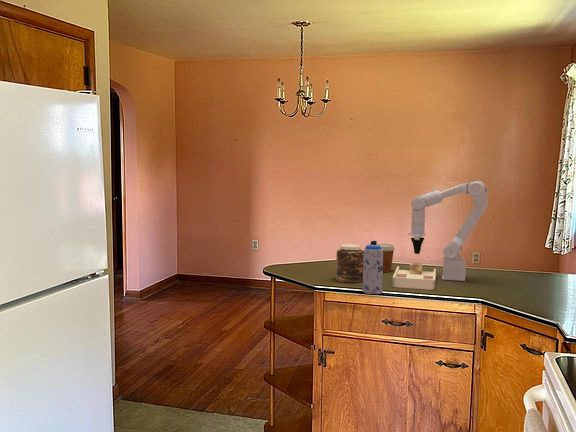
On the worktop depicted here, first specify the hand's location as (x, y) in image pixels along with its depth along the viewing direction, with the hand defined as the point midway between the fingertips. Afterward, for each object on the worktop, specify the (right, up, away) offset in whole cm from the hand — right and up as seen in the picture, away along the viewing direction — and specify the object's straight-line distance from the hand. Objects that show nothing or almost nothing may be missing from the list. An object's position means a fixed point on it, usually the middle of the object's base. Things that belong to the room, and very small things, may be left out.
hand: (417, 253), depth 238 cm
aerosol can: (-25, -13, -30) cm, 41 cm away
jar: (-31, -11, -9) cm, 34 cm away
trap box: (-4, -11, -13) cm, 18 cm away
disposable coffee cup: (-13, -9, +10) cm, 19 cm away
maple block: (-2, -8, -6) cm, 10 cm away
